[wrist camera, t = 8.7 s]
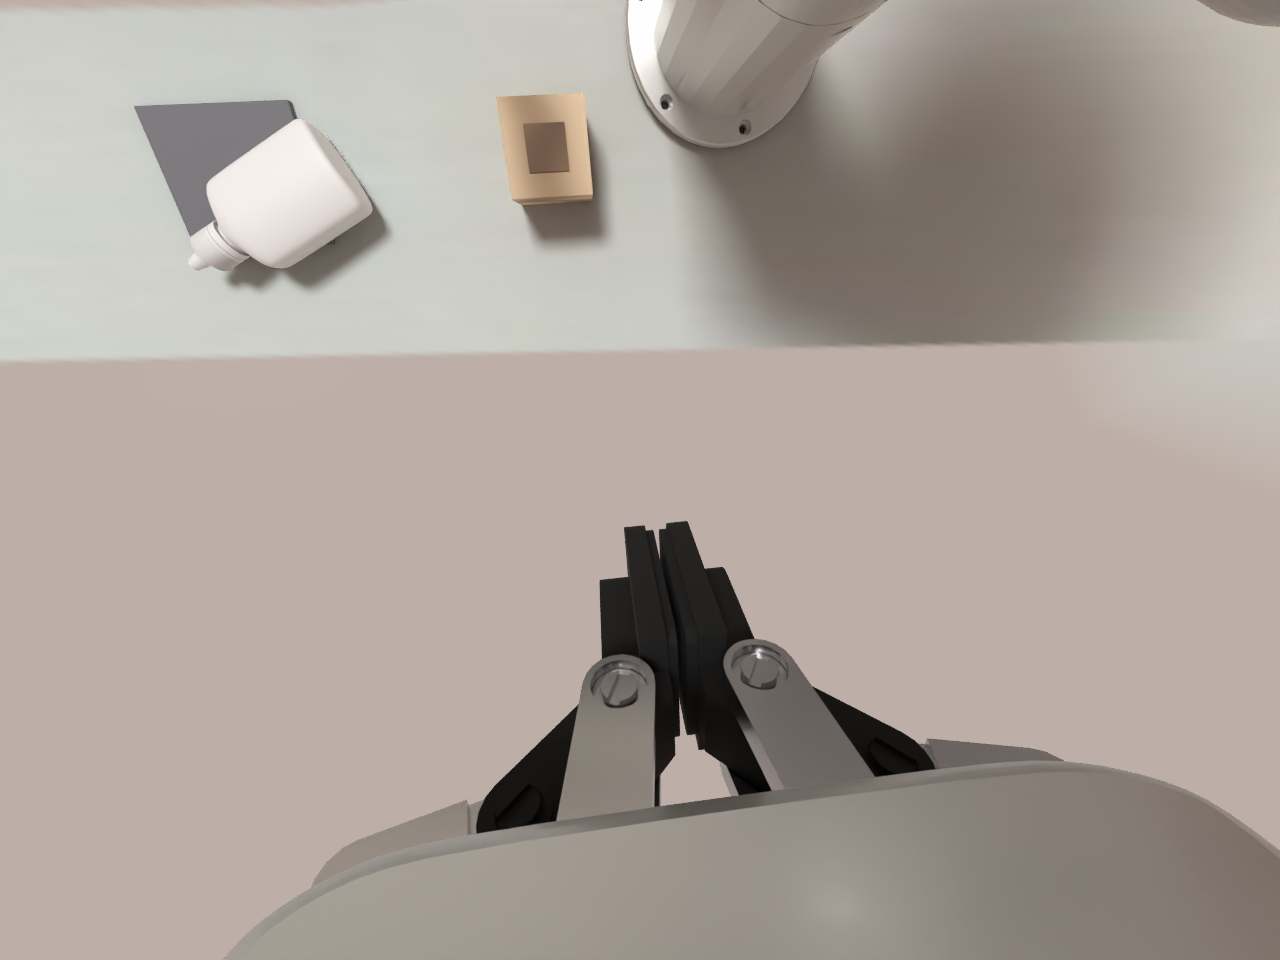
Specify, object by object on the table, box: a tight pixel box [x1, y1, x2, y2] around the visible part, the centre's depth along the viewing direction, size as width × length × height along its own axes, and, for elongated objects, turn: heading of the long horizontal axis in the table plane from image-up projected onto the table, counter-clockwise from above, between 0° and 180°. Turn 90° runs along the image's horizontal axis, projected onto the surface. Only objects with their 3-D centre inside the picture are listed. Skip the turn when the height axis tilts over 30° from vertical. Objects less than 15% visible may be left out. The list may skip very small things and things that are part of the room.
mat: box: [134, 100, 335, 244], centre depth 31 cm, size 9×8×1 cm
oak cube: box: [496, 93, 593, 205], centre depth 30 cm, size 5×5×5 cm
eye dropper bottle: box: [188, 119, 372, 271], centre depth 30 cm, size 4×6×12 cm
